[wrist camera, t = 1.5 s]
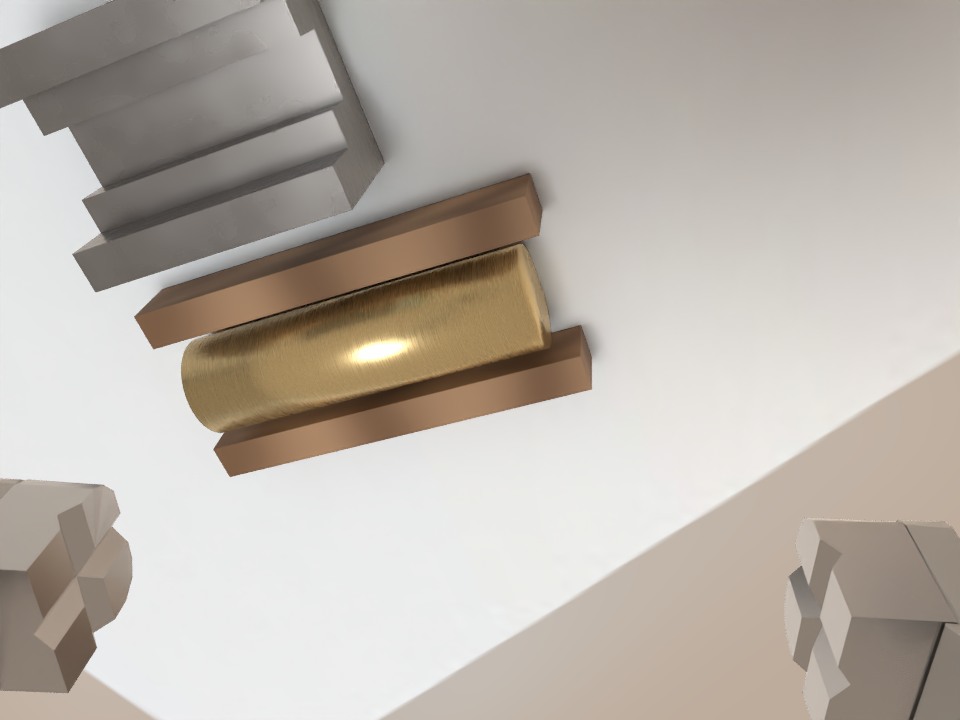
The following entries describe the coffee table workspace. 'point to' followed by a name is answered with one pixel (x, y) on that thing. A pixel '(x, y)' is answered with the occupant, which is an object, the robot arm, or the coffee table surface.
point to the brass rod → (369, 341)
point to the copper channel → (359, 264)
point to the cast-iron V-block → (196, 124)
